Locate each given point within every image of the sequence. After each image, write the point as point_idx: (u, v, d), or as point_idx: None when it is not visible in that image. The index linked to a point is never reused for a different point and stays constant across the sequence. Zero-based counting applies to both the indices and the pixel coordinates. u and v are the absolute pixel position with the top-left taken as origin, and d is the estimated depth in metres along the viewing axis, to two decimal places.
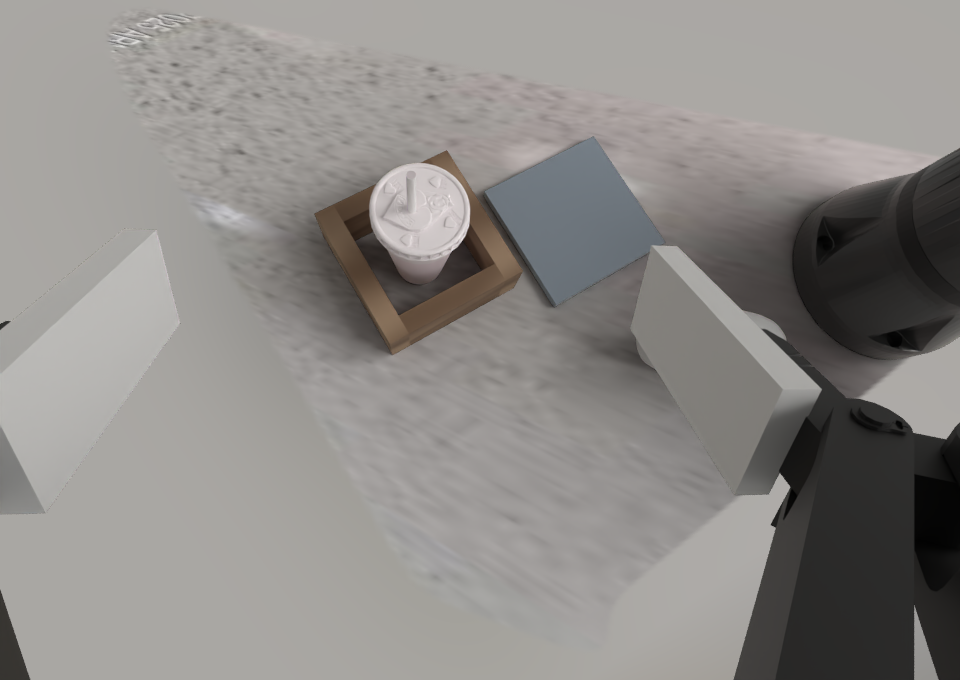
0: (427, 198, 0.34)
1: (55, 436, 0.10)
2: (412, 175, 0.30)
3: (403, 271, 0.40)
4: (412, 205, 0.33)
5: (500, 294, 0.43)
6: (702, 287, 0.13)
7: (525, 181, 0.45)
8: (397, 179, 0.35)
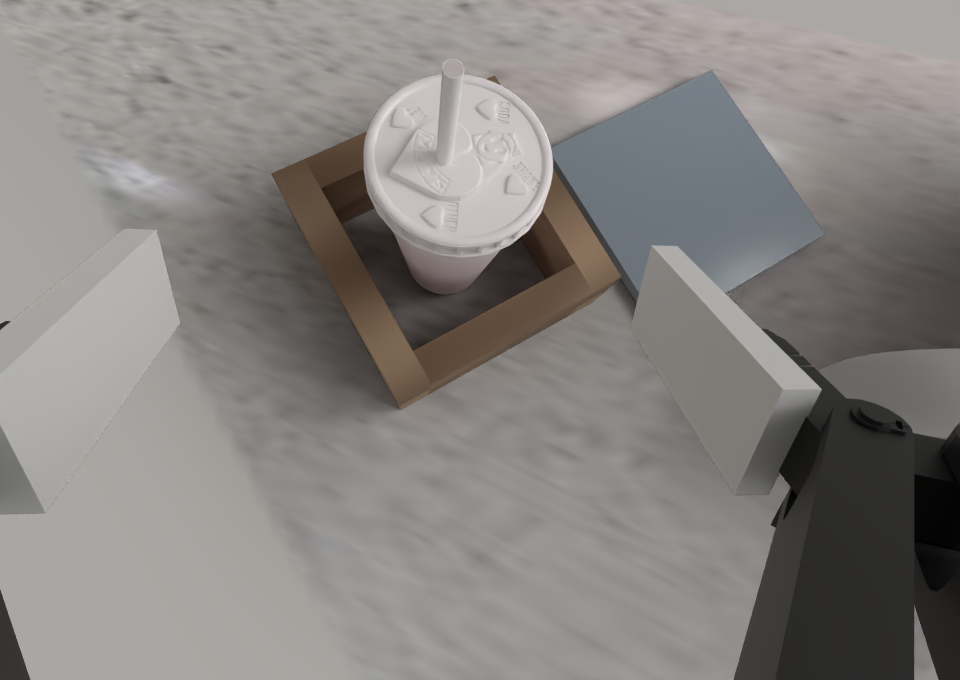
0: (474, 138, 0.18)
1: (55, 436, 0.10)
2: (456, 71, 0.14)
3: (421, 274, 0.24)
4: (448, 147, 0.17)
5: (573, 312, 0.27)
6: (702, 287, 0.13)
7: (610, 135, 0.29)
8: (417, 101, 0.18)
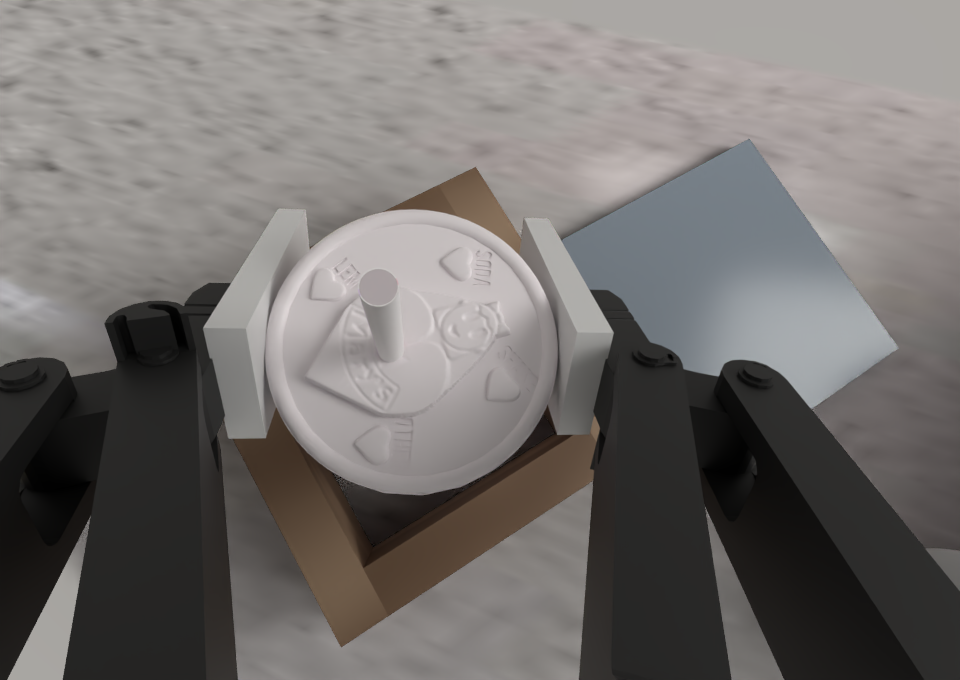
0: (437, 315, 0.12)
1: None
2: (385, 289, 0.08)
3: None
4: (391, 351, 0.10)
5: None
6: (552, 252, 0.14)
7: (626, 227, 0.23)
8: (351, 256, 0.12)
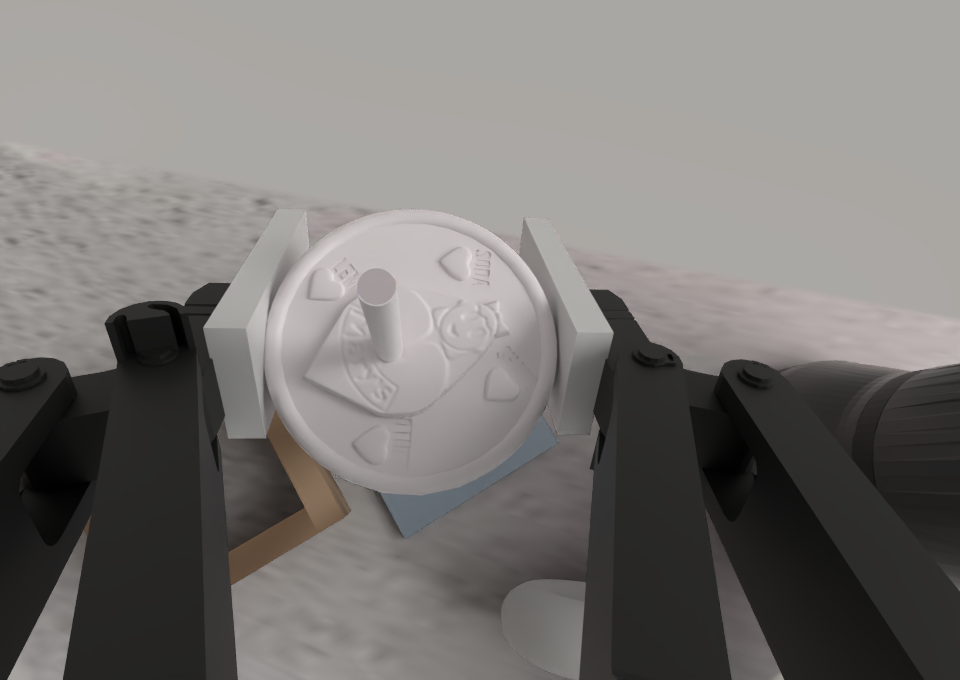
0: (436, 315, 0.12)
1: None
2: (383, 288, 0.08)
3: None
4: (390, 351, 0.10)
5: None
6: (552, 252, 0.14)
7: None
8: (349, 256, 0.12)
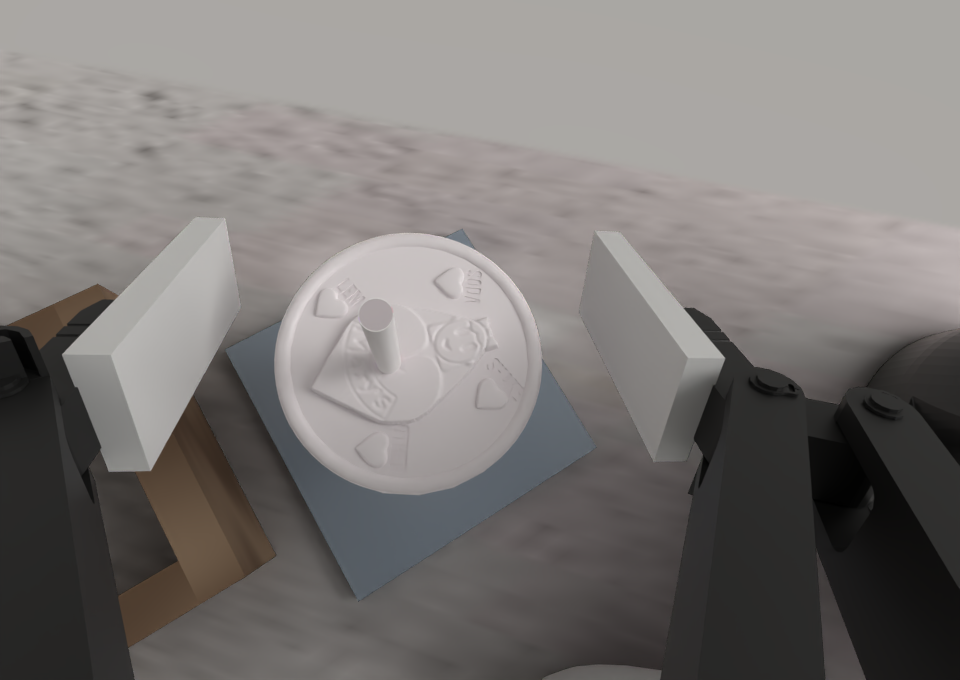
0: (431, 330, 0.13)
1: (157, 402, 0.11)
2: (382, 315, 0.09)
3: None
4: (388, 365, 0.12)
5: None
6: (634, 268, 0.14)
7: None
8: (352, 276, 0.13)
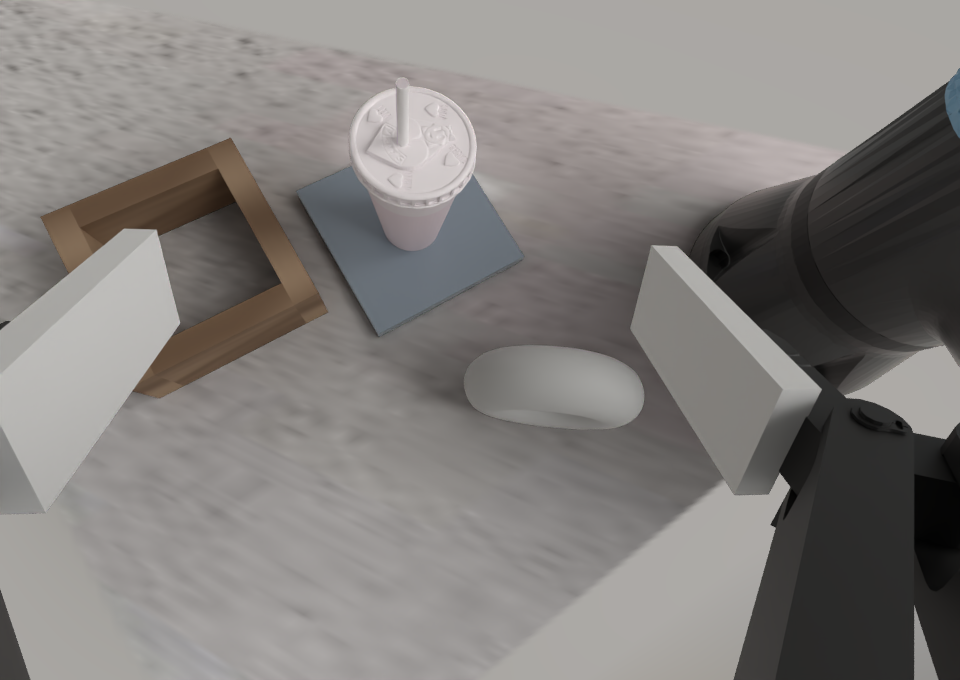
0: (422, 129, 0.27)
1: (55, 436, 0.10)
2: (404, 85, 0.23)
3: (392, 231, 0.33)
4: (403, 133, 0.26)
5: (308, 320, 0.35)
6: (702, 287, 0.13)
7: (350, 179, 0.36)
8: (384, 104, 0.27)
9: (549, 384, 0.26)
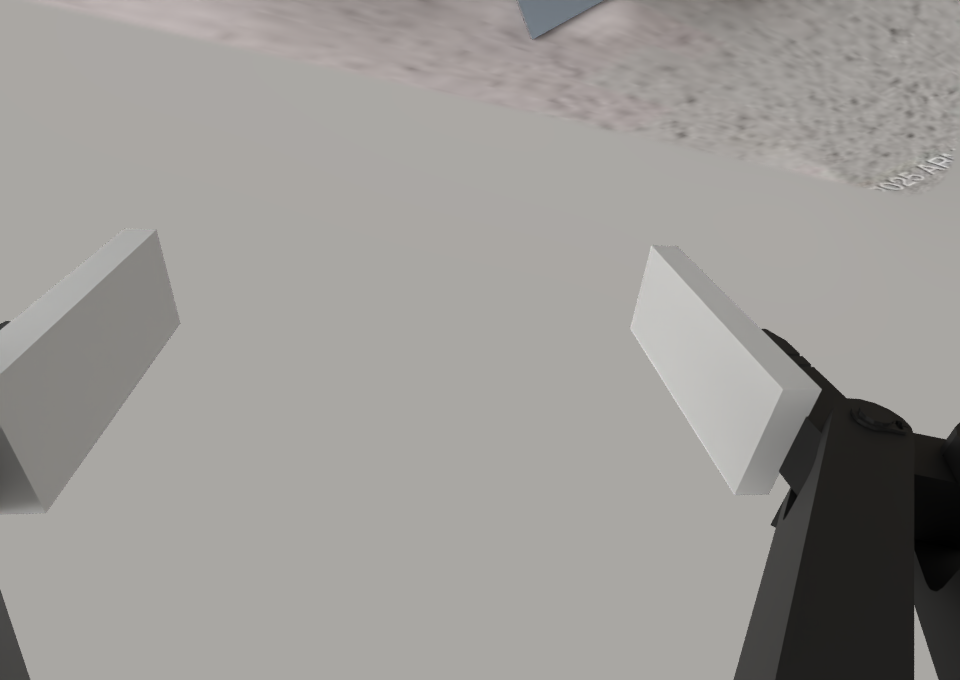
0: None
1: (55, 436, 0.10)
2: None
3: None
4: None
5: None
6: (702, 287, 0.13)
7: None
8: None
9: None
